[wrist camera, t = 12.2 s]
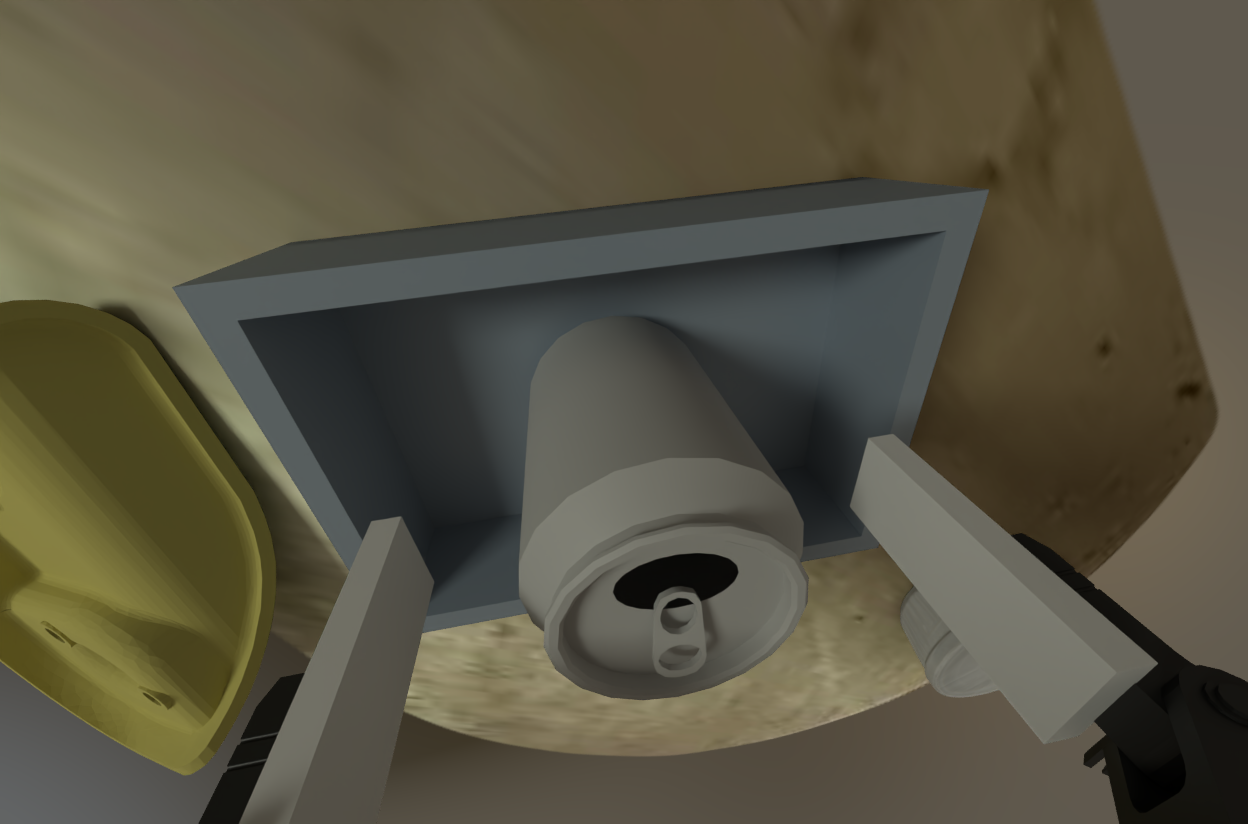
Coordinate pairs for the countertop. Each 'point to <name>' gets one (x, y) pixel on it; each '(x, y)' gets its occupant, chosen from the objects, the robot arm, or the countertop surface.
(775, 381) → the bin
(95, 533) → the plastic component
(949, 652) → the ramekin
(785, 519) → the can
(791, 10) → the countertop surface
